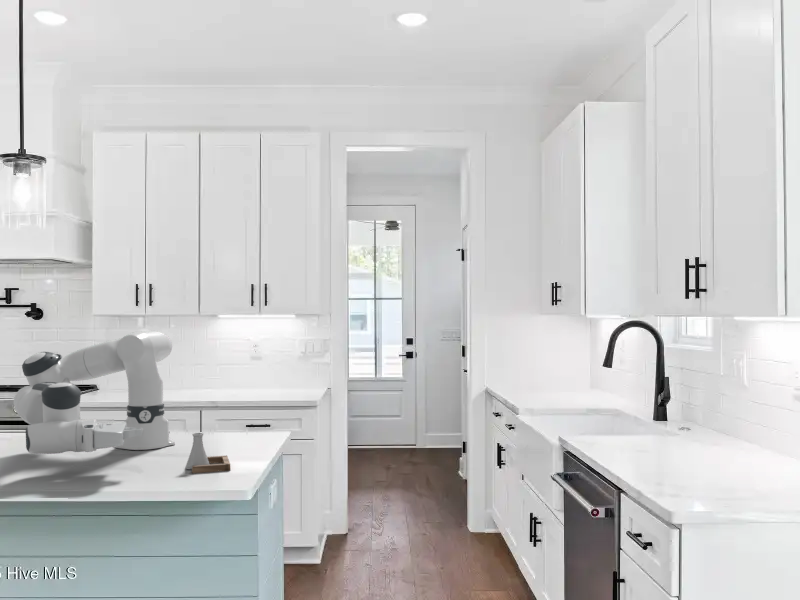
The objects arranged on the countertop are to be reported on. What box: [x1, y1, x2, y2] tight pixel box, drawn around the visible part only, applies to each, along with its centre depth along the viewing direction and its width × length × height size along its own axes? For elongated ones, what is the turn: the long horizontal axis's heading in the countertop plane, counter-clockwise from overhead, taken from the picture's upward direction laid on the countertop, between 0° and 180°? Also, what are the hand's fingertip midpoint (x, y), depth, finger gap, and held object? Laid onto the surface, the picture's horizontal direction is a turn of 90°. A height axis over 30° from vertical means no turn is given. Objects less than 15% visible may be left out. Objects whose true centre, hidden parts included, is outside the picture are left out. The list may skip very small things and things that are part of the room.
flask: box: [185, 432, 210, 470], centre depth 206 cm, size 7×7×10 cm
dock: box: [191, 455, 231, 474], centre depth 207 cm, size 13×10×2 cm
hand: (142, 431), depth 201 cm, fingers closed
